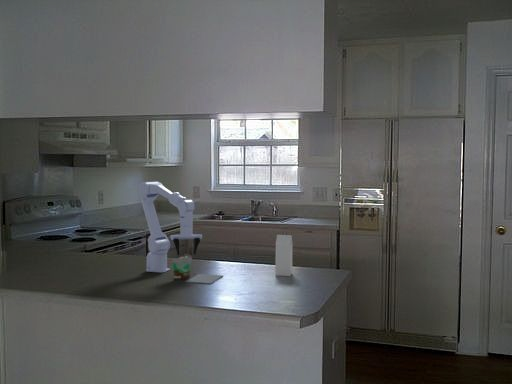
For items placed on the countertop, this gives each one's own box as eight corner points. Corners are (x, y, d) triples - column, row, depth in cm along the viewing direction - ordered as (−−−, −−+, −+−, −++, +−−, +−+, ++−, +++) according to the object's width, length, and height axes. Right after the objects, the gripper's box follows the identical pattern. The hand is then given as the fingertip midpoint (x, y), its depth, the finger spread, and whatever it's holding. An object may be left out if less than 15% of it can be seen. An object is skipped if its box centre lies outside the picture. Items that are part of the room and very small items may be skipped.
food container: (184, 281, 239) (184, 259, 239) (172, 280, 241) (172, 258, 241) (196, 275, 251) (196, 254, 250) (184, 274, 253) (184, 253, 252)
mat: (185, 282, 237) (185, 281, 237) (199, 274, 253) (199, 273, 253) (210, 284, 234) (210, 283, 234) (223, 276, 249) (223, 275, 249)
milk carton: (290, 276, 250) (290, 236, 249) (275, 275, 251) (275, 235, 250) (292, 273, 257) (292, 234, 256) (277, 272, 258) (278, 233, 257)
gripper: (171, 227, 243) (171, 256, 244) (203, 226, 247) (203, 255, 248) (170, 225, 250) (170, 253, 251) (200, 224, 254) (200, 252, 254)
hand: (186, 254), depth 250 cm, fingers open, 7 cm apart
